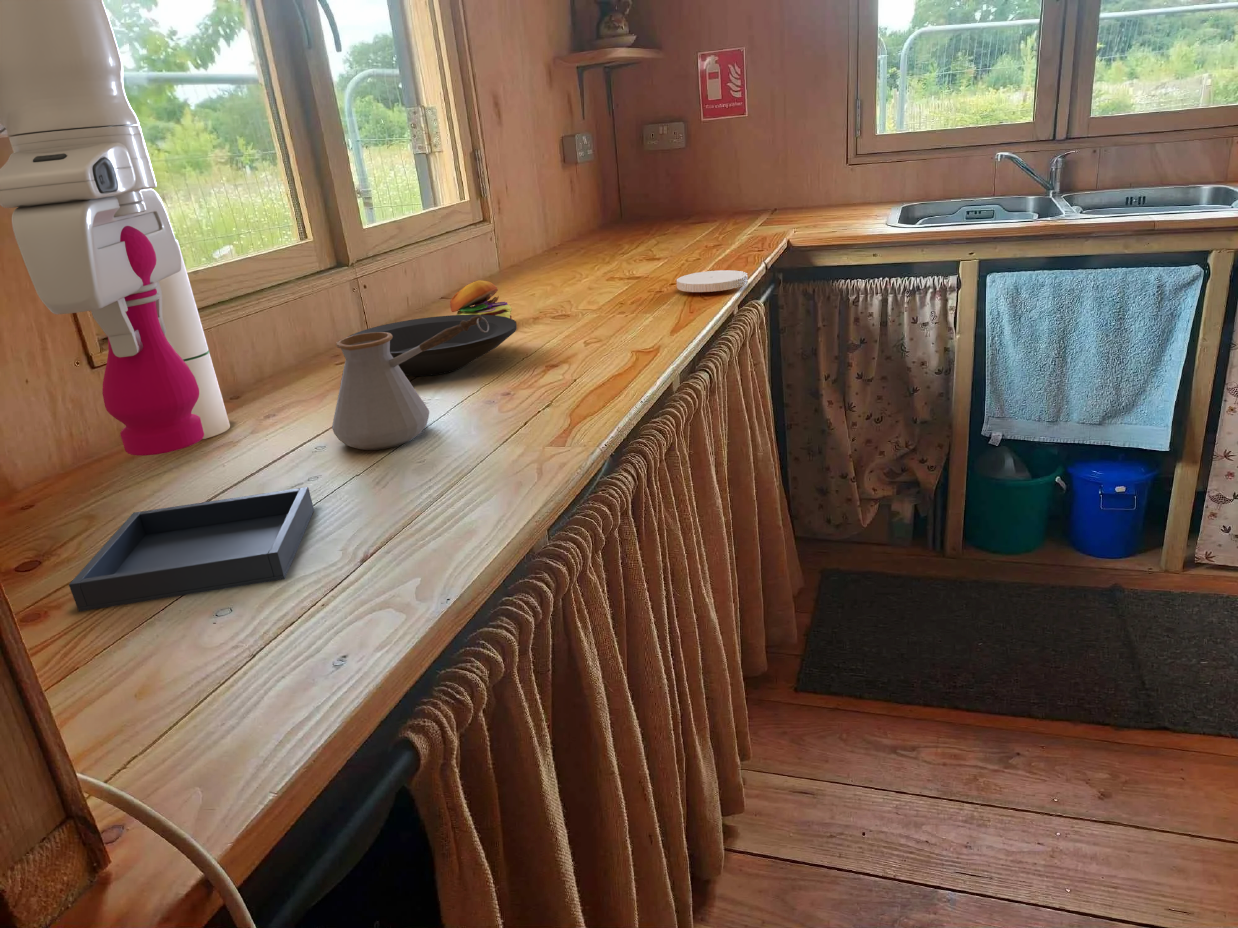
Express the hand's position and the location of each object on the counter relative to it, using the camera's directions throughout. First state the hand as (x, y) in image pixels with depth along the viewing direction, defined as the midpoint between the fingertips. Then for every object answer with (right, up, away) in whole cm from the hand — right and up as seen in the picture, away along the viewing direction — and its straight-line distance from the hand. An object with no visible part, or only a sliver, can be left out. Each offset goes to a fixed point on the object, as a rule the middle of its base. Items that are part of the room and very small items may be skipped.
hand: (142, 346), depth 72 cm
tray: (+2, -19, +7) cm, 20 cm away
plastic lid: (+58, +25, +102) cm, 120 cm away
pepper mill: (0, -8, +3) cm, 9 cm away
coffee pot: (+16, -7, +32) cm, 37 cm away
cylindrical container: (-16, -6, +44) cm, 47 cm away
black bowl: (+10, +5, +66) cm, 67 cm away
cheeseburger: (+15, +15, +88) cm, 90 cm away
